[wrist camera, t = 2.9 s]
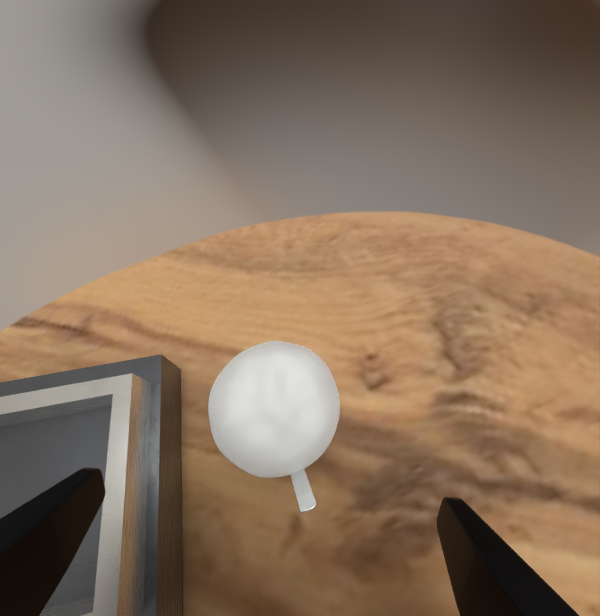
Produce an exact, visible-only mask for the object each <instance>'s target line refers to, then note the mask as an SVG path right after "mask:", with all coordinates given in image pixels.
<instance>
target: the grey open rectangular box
mask: <svg viewBox="0 0 600 616" xmlns="http://www.w3.org/2000/svg"><path fill="white" fill-rule="evenodd" d="M85 467H91V468H99V469H100V470H101V471H102V475H103V480H104V485H105V491H106V492H105V498H104V500H103V503H102V505H101V507H100V508H99V510H98V512H97V514H96V516H95V518H94V520H93V522H92V524H91V526H90V528H89V530H88V532H87V534H86V536H85V537H84V539H83V541H82V543H81V545H80V547H79V549H78V551H77V553H76V555H75V557H74V559H73V561H72V562H71V564H70V566H69V568H68V570H67V571H66V573H65V575H64V576H63V578H62V580H61V581H60V583H59V585H58V586H57V588H56V590H55V591H54V593H53V594H52V596H51V598H50V599H49V601H48V603H47V604H46V606H45V607H44V609H43V611H42V612H41V614H40V615H39V616H183V579H182V480H181V380H180V369H179V368H178V367H177V366H175V365H174V364H173V363H172V362H170V361H169V360H168V359H167V358H165V357H164V356H163V355H156V356H150V357H145V358H139V359H133V360H127V361H122V362H116V363H110V364H105V365H99V366H93V367H87V368H82V369H76V370H70V371H65V372H59V373H53V374H47V375H42V376H36V377H30V378H25V379H19V380H13V381H7V382H2V383H0V518H2V517H4V516H5V515H7V514H8V513H10V512H12V511H13V510H15V509H16V508H18V507H20V506H21V505H23V504H25V503H26V502H28V501H29V500H31V499H33V498H34V497H36V496H38V495H39V494H41V493H42V492H44V491H46V490H47V489H49V488H51V487H52V486H54V485H55V484H57V483H59V482H60V481H62V480H63V479H65V478H67V477H68V476H70V475H72V474H73V473H75V472H76V471H78V470H80V469H82V468H85Z"/></svg>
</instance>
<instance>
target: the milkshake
mask: <svg viewBox="0 0 600 616" xmlns="http://www.w3.org/2000/svg"><path fill="white" fill-rule="evenodd" d="M208 411H209V421H210V426H211V431H212V435H213V438H214V441H215V443H216V445H217V447H218V448H219V450H220V451H221V452H222V454H223V455H224V456H225V457H226V458H227V459H229V460H230V461H231V462H232V463H233V464H235V465H236V466H237V467H239V468H240V469H242V470H243V471H245V472H247V473H249V474H252V475H254V476H258V477H264V478H276V477H283V476H287V475H290V476H291V480H292V484H293V488H294V492H295V496H296V500H297V503H298V507H299V511H300V513H305V512H307V511H309V510H312V509H314V508H316V507H317V502H316V499H315V497H314V494H313V491H312V488H311V486H310V483H309V480H308V477H307V475H306V472H305V468H306V467H308V466H309V465H311V464H312V463H313V462H315V461H316V460H317V459H318V458H319V457H320V456H321V455H322V454H323V453H324V452H325V450H326V449H327V448H328V446H329V444H330V443H331V441H332V439H333V437H334V434H335V432H336V428H337V425H338V421H339V414H340V399H339V394H338V390H337V386H336V383H335V381H334V378H333V376H332V373H331V372H330V370H329V368H328V367H327V365H326V364H325V362H324V361H323V360H322V359H321V358H320V357H319V356H318V355H317V354H316V353H314V352H313V351H312V350H310V349H308V348H306V347H303V346H300V345H296V344H292V343H288V342H283V341H269V342H265V343H261V344H258V345H255V346H252V347H250V348H248V349H246V350H244V351H242V352H241V353H239V354H238V355H237V356H235V357H234V358H233V359H232V360H231V361H230V362H229V363H228V364H227V365H226V366H225V368H224V369H223V370H222V371H221V372H220V374H219V375H218V377H217V378H216V380H215V382H214V384H213V386H212V389H211V392H210V397H209V404H208Z"/></svg>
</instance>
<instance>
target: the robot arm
mask: <svg viewBox="0 0 600 616" xmlns="http://www.w3.org/2000/svg"><path fill="white" fill-rule="evenodd" d="M105 492H106V491H105V485H104V480H103V475H102V471H101V470H100V469H99V468H91V467H85V468H82V469H80V470H78V471H76V472H75V473H73V474H72V475H70V476H68V477H67V478H65V479H63V480H62V481H60V482H59V483H57V484H55V485H54V486H52V487H51V488H49V489H47V490H46V491H44V492H42V493H41V494H39V495H38V496H36V497H34V498H33V499H31V500H29V501H28V502H26V503H25V504H23V505H21V506H20V507H18V508H16V509H15V510H13V511H12V512H10V513H8V514H7V515H5V516H4V517H2V518H0V616H39V615H40V614H41V612H42V611H43V609H44V607H45V606H46V604H47V603H48V601H49V599H50V598H51V596H52V594H53V593H54V591H55V590H56V588H57V586H58V585H59V583H60V581H61V580H62V578H63V576H64V575H65V573H66V571H67V570H68V568H69V566H70V564H71V562H72V561H73V559H74V557H75V555H76V553H77V551H78V549H79V547H80V545H81V543H82V541H83V539H84V537H85V536H86V534H87V532H88V530H89V528H90V526H91V524H92V522H93V520H94V518H95V516H96V514H97V512H98V510H99V508H100V507H101V505H102V503H103V500H104V498H105ZM437 529H438V534H439V538H440V541H441V545H442V549H443V553H444V557H445V561H446V565H447V569H448V573H449V577H450V581H451V585H452V589H453V593H454V596H455V600H456V603H457V607H458V610H459V613H460V616H579V615H578V614H577V613H576V612H575V611H574V610H573V609H572V608H571V607H570V606H569V605H568V604H567V603H566V602H565V601H564V600H563V599H562V598H561V597H560V596H559V595H558V594H557V593H556V592H555V591H554V590H553V589H552V588H551V587H550V586H549V585H548V584H547V583H546V582H545V581H544V580H543V579H542V578H541V577H540V576H539V575H538V574H537V573H536V572H535V571H534V570H533V569H532V568H531V567H530V566H529V565H528V564H527V563H526V562H525V561H524V560H523V559H522V558H521V557H520V556H519V555H518V554H517V553H516V552H515V551H514V550H513V549H512V548H511V547H510V546H509V545H508V544H507V543H506V542H505V541H504V540H503V539H502V538H501V537H500V536H499V535H498V534H497V533H496V532H495V531H494V530H493V529H492V528H491V527H490V526H489V525H488V524H487V523H486V522H484V521H483V520H482V519H481V518H480V517H479V516H478V515H477V514H476V513H475V512H474V511H473V510H472V509H471V508H470V507H469V506H468V505H467V504H466V503H465V502H464V501H463V500H462V499H460V498H455V497H444V498H443V500H442V503H441V506H440V510H439V513H438V517H437Z"/></svg>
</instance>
